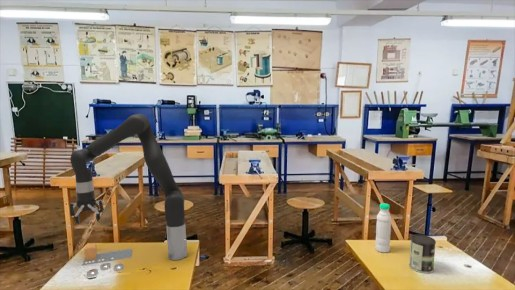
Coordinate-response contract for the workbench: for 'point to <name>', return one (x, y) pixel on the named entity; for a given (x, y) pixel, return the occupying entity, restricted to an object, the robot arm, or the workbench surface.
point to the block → (90, 251)
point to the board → (110, 256)
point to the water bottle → (383, 229)
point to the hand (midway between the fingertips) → (88, 221)
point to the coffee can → (422, 253)
